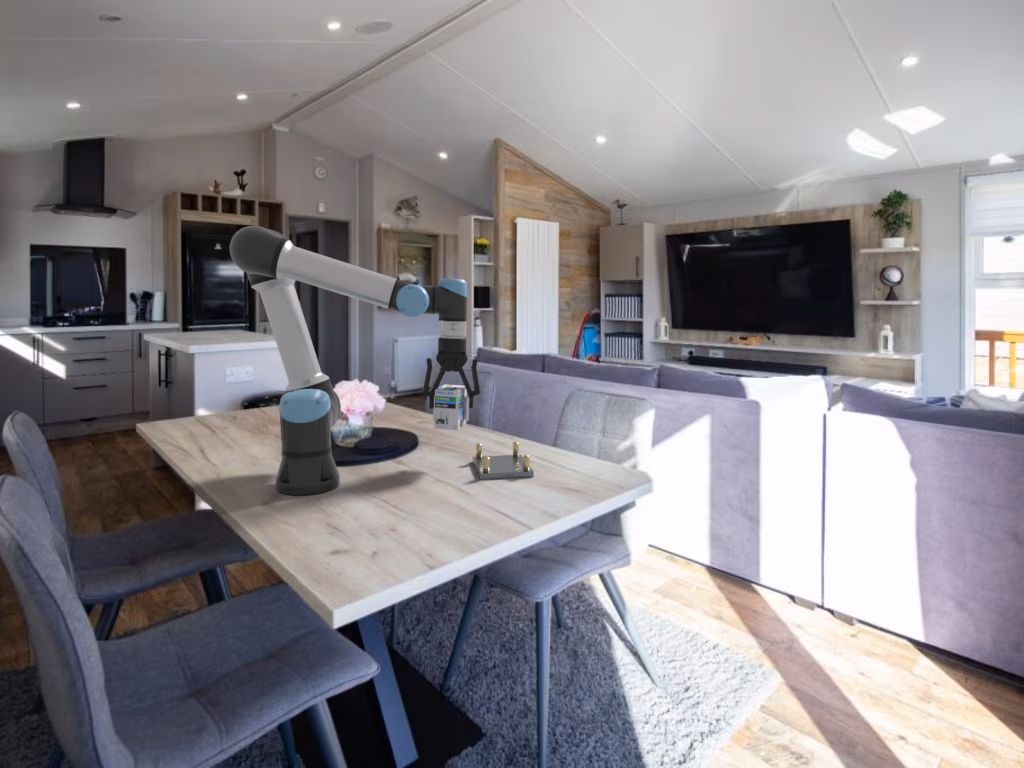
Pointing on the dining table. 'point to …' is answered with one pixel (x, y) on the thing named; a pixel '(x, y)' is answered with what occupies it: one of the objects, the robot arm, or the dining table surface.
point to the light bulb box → (450, 407)
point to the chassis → (502, 464)
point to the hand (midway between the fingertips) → (450, 420)
